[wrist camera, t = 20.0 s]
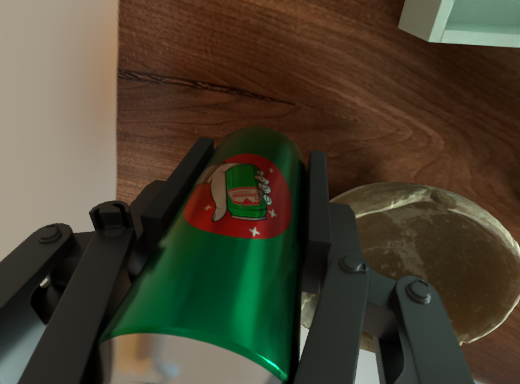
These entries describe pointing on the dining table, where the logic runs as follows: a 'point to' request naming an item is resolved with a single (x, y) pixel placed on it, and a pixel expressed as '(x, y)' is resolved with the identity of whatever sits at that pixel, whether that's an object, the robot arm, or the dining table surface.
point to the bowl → (436, 252)
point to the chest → (463, 21)
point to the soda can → (220, 277)
